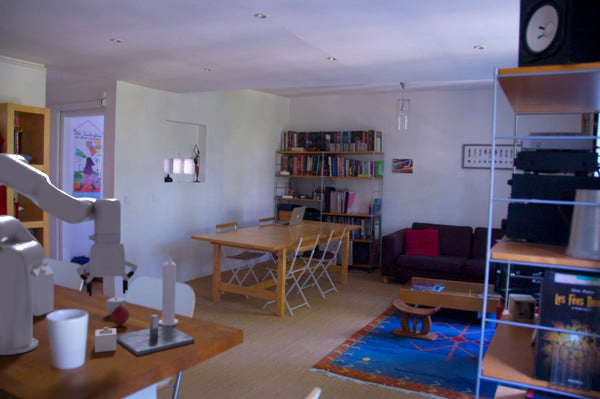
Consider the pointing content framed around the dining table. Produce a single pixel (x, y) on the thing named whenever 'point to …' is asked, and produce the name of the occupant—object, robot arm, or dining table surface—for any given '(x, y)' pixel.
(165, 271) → the candle
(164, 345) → the hub plate
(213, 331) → the dining table surface
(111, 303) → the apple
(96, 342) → the white cube box
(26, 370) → the dining table surface
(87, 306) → the dining table surface
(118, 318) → the onion
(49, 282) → the milk carton
